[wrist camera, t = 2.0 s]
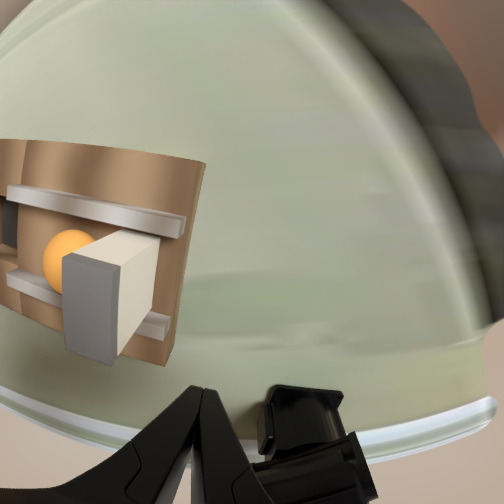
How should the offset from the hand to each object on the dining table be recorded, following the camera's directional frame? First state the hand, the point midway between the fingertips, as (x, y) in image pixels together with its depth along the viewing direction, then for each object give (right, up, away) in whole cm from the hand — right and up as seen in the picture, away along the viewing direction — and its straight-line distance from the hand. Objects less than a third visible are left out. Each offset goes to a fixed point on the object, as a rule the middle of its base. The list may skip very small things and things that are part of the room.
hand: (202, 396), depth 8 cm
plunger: (-5, +3, +9) cm, 11 cm away
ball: (-9, +4, +7) cm, 12 cm away
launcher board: (-13, +6, +11) cm, 18 cm away
